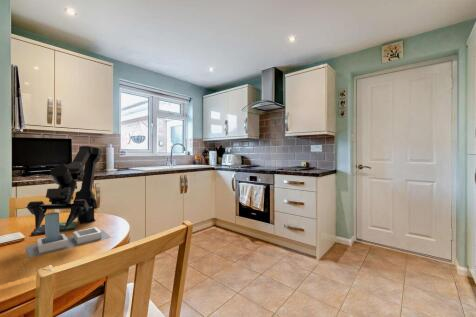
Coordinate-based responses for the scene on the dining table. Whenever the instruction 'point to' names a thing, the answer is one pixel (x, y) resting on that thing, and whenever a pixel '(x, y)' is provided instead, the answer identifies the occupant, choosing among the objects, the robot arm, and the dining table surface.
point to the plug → (51, 227)
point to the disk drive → (61, 228)
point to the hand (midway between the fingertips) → (51, 227)
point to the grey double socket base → (66, 241)
